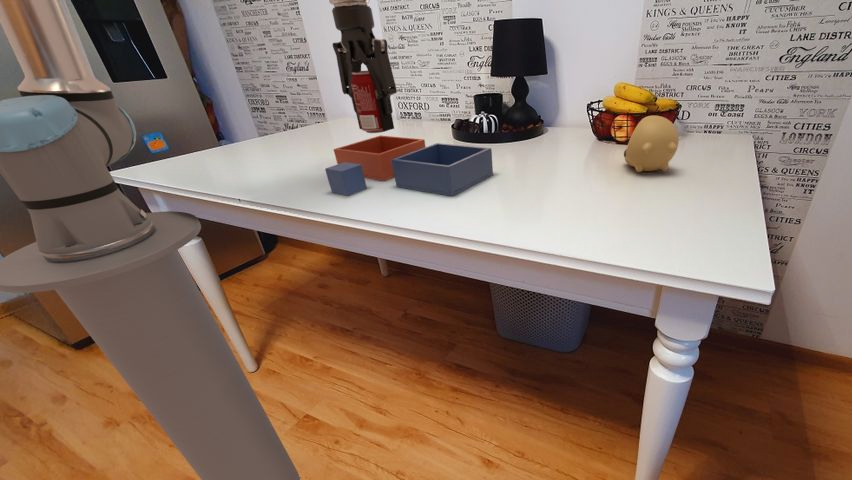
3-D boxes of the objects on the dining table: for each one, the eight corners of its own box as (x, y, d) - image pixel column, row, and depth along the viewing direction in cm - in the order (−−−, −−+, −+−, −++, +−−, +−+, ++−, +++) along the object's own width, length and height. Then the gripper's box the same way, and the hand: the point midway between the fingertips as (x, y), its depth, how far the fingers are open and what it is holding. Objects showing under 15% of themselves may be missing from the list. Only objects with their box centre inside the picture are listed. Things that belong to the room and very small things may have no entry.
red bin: (339, 173, 93) (333, 149, 90) (384, 157, 104) (380, 135, 101) (384, 180, 86) (379, 154, 83) (428, 163, 97) (424, 139, 94)
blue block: (331, 192, 81) (324, 168, 79) (350, 185, 85) (344, 161, 82) (348, 196, 79) (341, 171, 76) (367, 188, 83) (361, 164, 80)
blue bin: (396, 186, 82) (391, 159, 79) (440, 167, 93) (437, 142, 90) (452, 196, 76) (448, 167, 73) (493, 174, 86) (491, 148, 83)
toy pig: (665, 184, 85) (658, 141, 88) (691, 151, 74) (682, 103, 77) (619, 185, 85) (614, 142, 88) (638, 152, 74) (631, 104, 77)
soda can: (377, 134, 87) (364, 72, 80) (355, 133, 90) (341, 73, 83) (398, 128, 91) (388, 69, 85) (376, 127, 94) (365, 70, 88)
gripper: (401, 1, 76) (420, 127, 88) (333, 10, 85) (359, 123, 97) (372, 0, 71) (397, 135, 83) (303, 9, 80) (334, 129, 92)
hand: (376, 128), depth 90 cm, fingers closed on soda can, 7 cm apart
